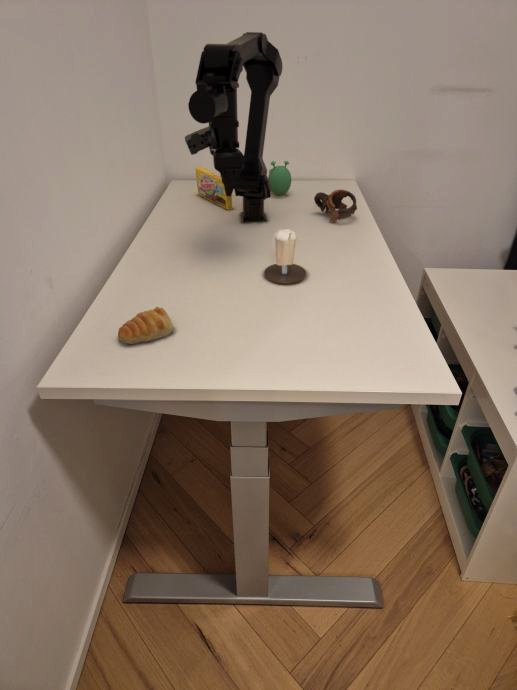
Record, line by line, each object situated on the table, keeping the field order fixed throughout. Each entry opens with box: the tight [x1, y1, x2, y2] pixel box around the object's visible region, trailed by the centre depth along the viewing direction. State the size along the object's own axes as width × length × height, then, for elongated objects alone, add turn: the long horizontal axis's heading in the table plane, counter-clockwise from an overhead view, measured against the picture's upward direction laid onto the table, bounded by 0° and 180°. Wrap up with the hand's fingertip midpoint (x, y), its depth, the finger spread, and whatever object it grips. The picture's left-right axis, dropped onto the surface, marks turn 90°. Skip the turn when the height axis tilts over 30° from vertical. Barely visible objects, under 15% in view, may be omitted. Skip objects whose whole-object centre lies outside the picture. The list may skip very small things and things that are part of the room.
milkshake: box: [274, 228, 298, 274], centre depth 98 cm, size 4×5×10 cm
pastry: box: [117, 306, 174, 345], centre depth 82 cm, size 9×7×4 cm
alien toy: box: [267, 160, 292, 196], centre depth 140 cm, size 7×8×10 cm
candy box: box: [194, 166, 233, 211], centre depth 135 cm, size 16×2×8 cm, turn 37°
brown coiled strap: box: [313, 189, 358, 224], centre depth 127 cm, size 12×10×8 cm
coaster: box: [263, 263, 307, 286], centre depth 101 cm, size 9×9×1 cm
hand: (226, 189), depth 107 cm, fingers open, 9 cm apart
